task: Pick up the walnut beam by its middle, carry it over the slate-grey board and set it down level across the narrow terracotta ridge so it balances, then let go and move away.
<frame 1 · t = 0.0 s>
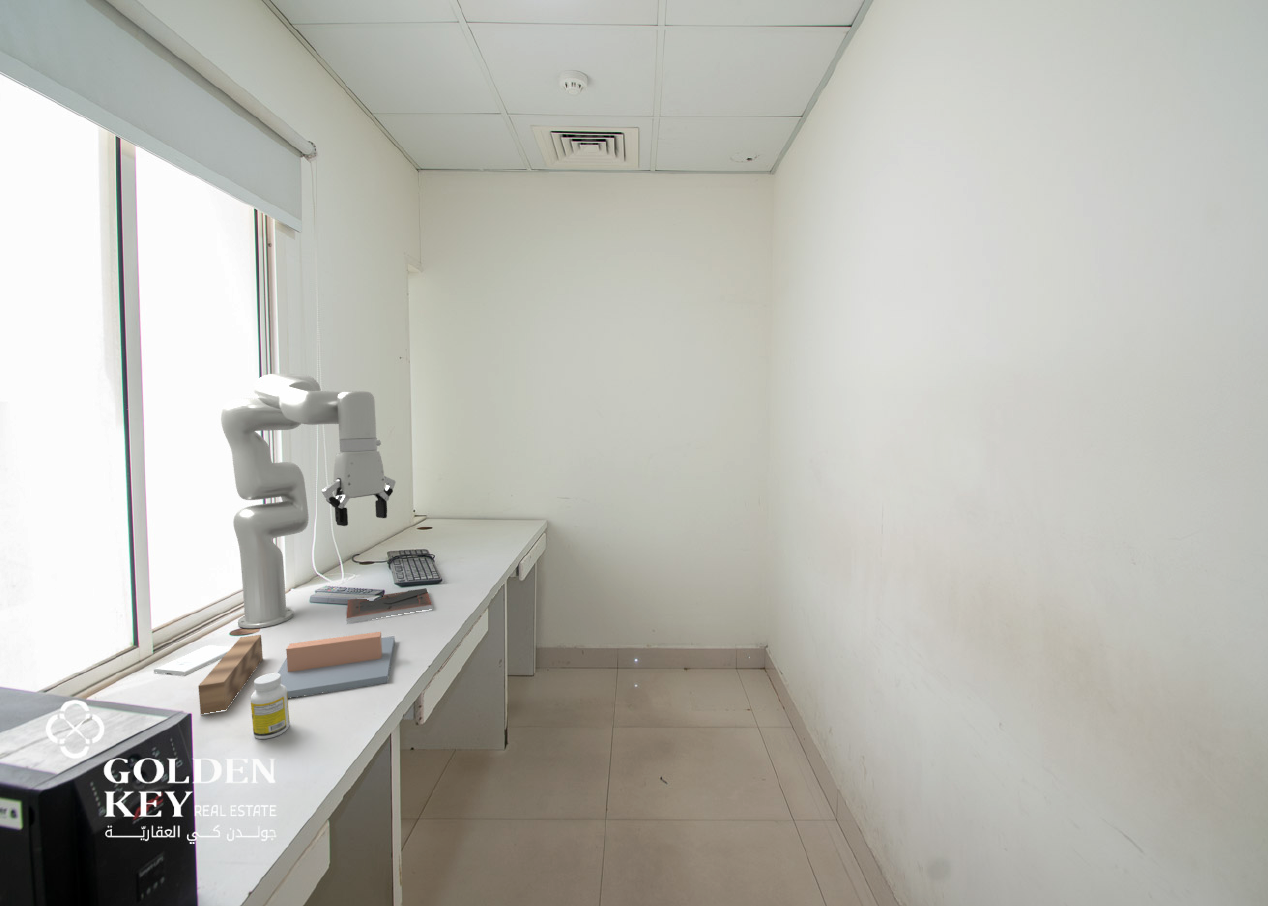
hand: (362, 521, 128), 31 cm above the table, tool pointing down, fingers open, 9 cm apart
picture frame: (389, 610, 162), on the table
supplement bottle: (271, 732, 100), on the table
ridge board: (337, 669, 124), on the table
walnut beam: (235, 685, 117), on the table
external hard drive: (196, 665, 128), on the table
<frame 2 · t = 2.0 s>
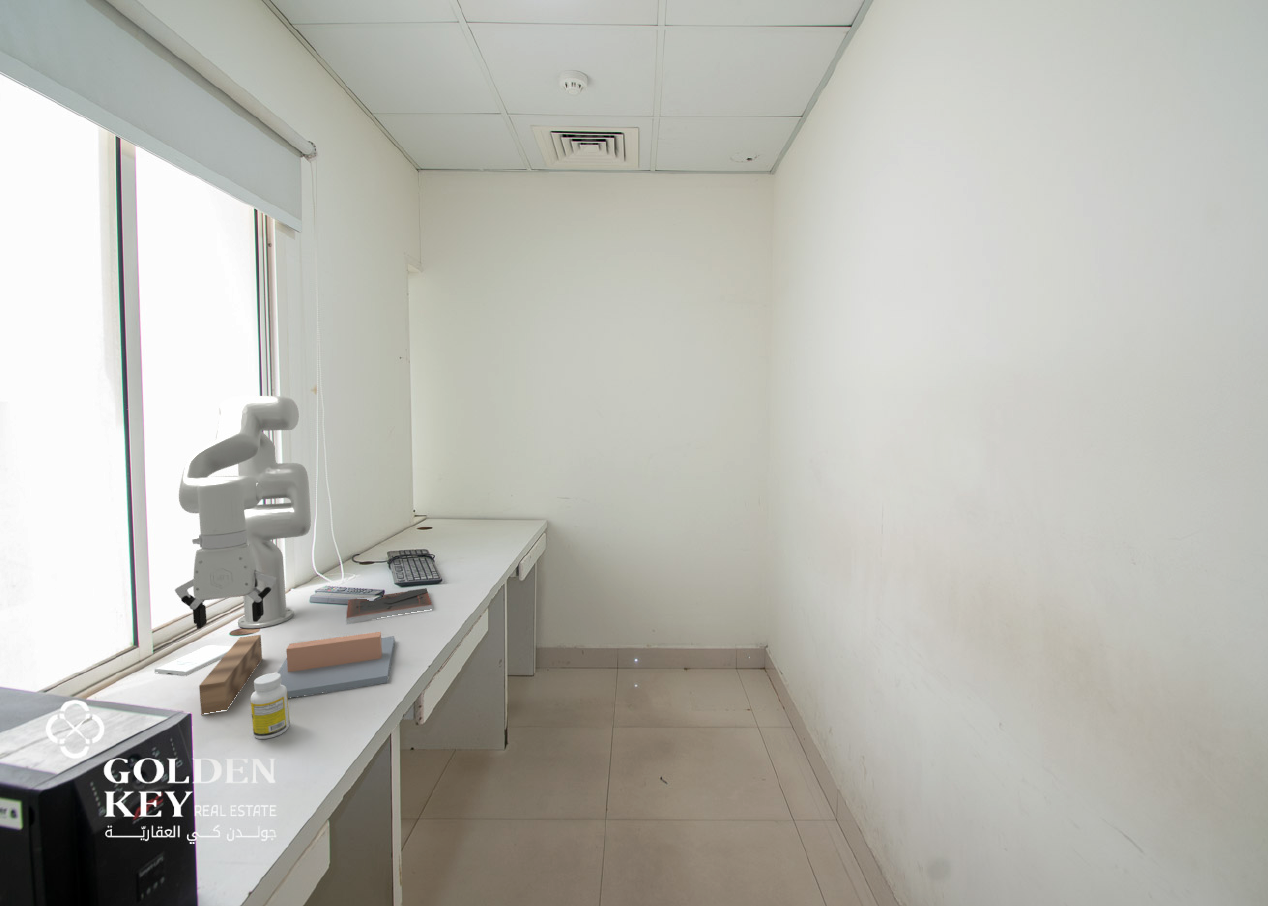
hand: (229, 623, 116), 13 cm above the table, tool pointing down, fingers open, 9 cm apart
nothing on the table moved.
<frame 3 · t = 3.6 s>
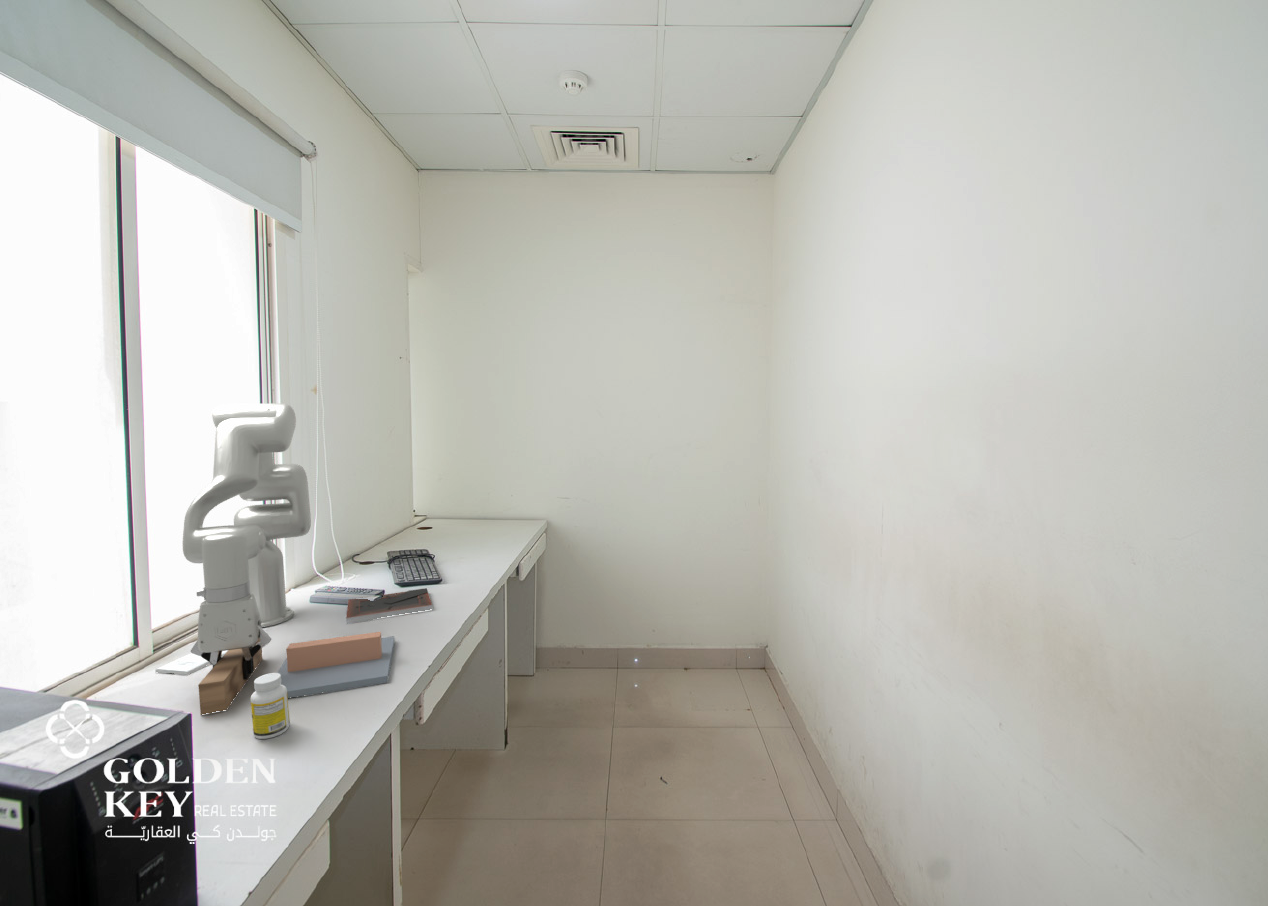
hand: (234, 677, 117), 1 cm above the table, tool pointing down, fingers closed on walnut beam, 4 cm apart
walnut beam: (234, 684, 117), on the table, touching gripper
everything else where it was.
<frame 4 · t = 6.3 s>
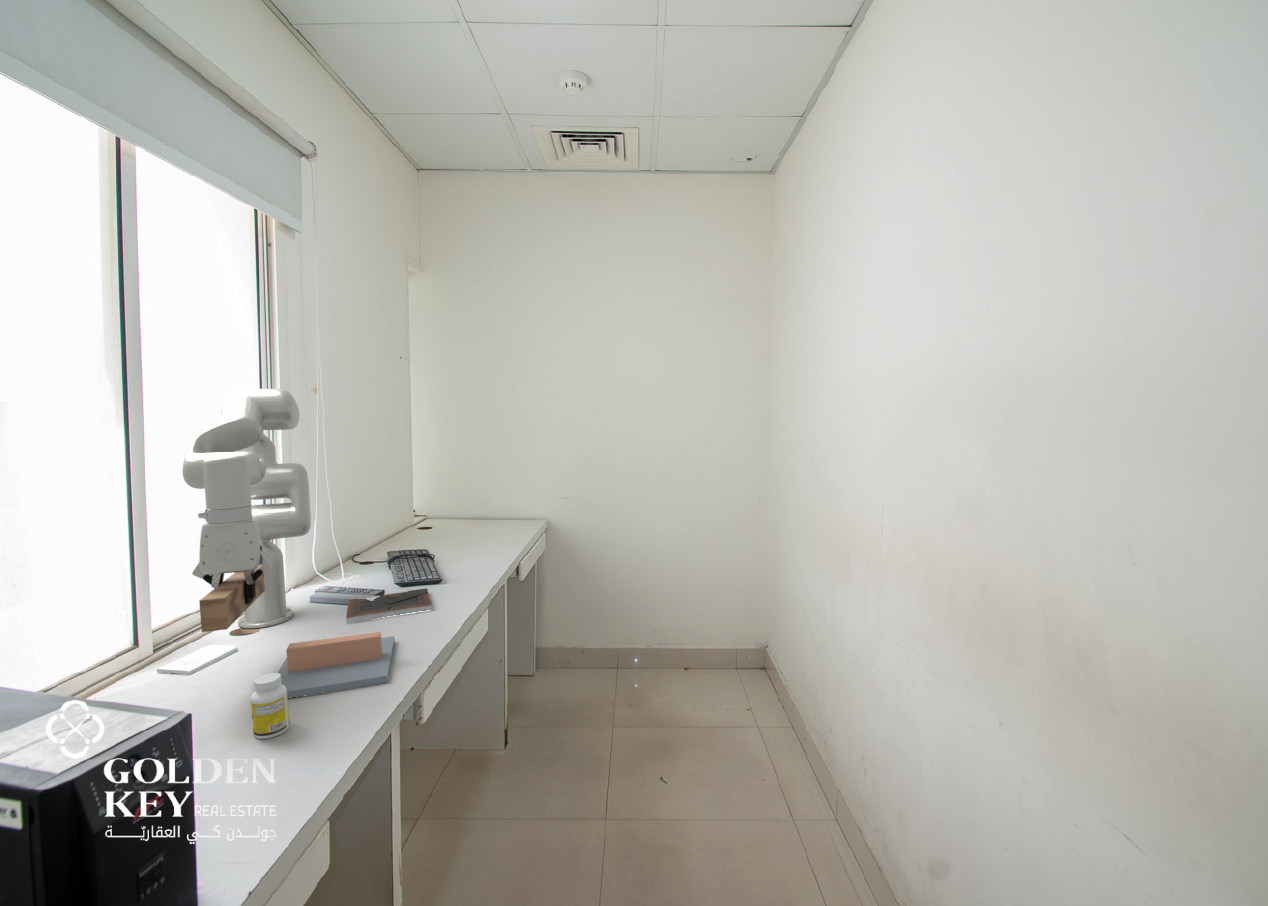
hand: (236, 602, 116), 17 cm above the table, tool pointing down, fingers closed on walnut beam, 4 cm apart
walnut beam: (236, 609, 117), point 16 cm above the table, touching gripper
everything else where it was.
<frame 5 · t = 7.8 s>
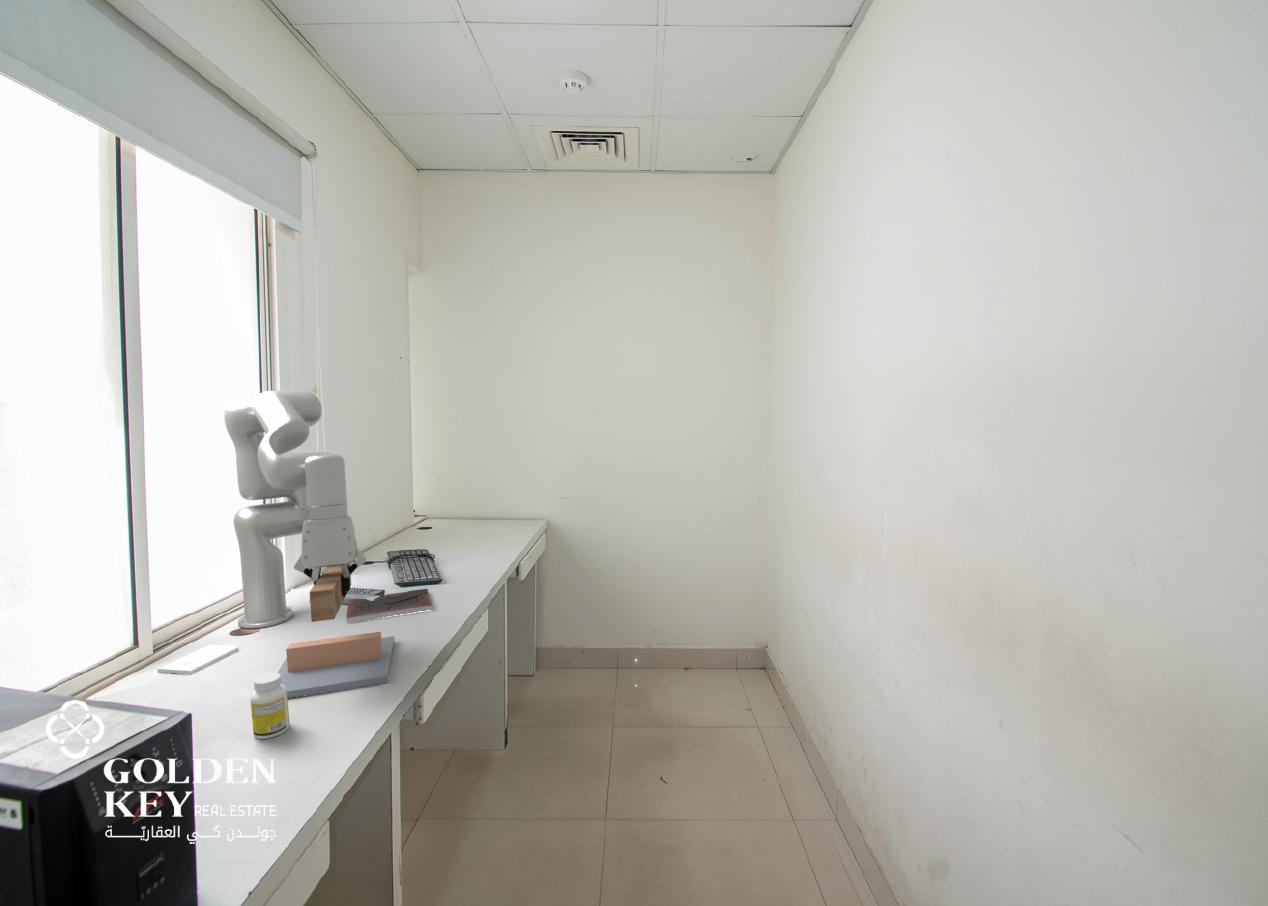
hand: (332, 595, 122), 17 cm above the table, tool pointing down, fingers closed on walnut beam, 4 cm apart
walnut beam: (333, 601, 122), point 15 cm above the table, touching gripper
everything else where it was.
when the fingers open (9 cm above the table, at t = 9.2 s): walnut beam stays where it is, resting on ridge board.
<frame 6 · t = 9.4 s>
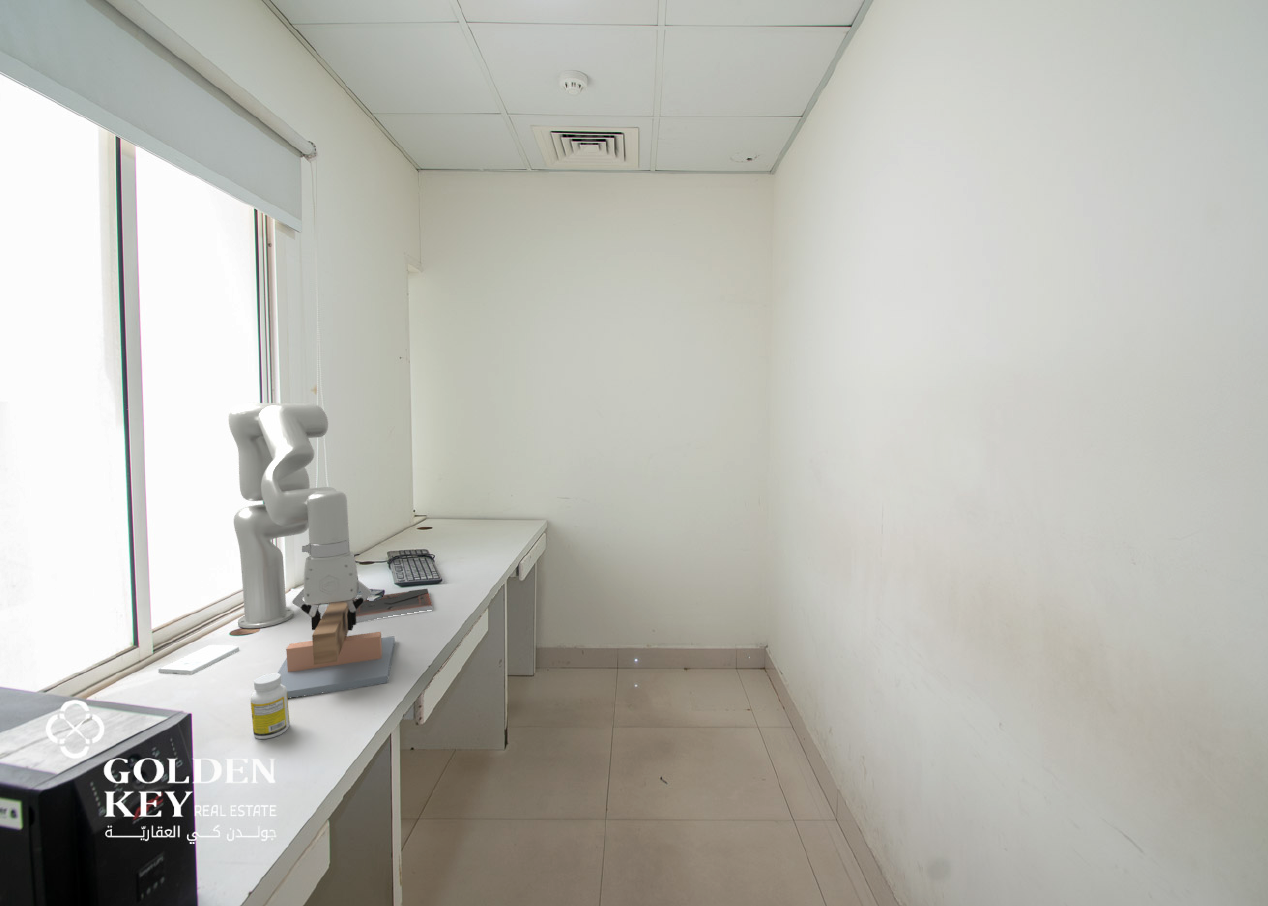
hand: (334, 629, 123), 9 cm above the table, tool pointing down, fingers open, 5 cm apart
walnut beam: (335, 640, 123), point 7 cm above the table, touching ridge board
everything else where it was.
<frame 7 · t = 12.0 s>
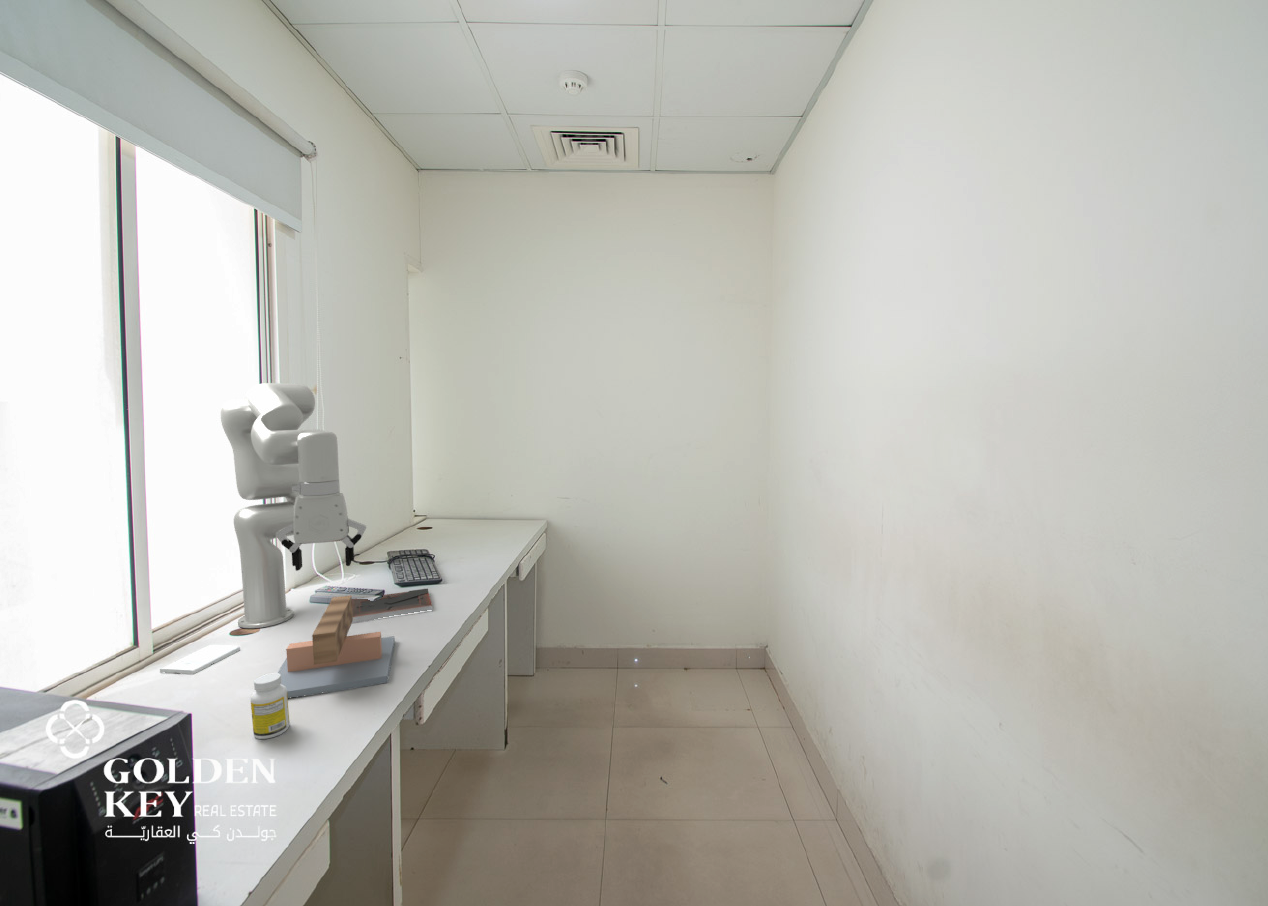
hand: (324, 566, 123), 23 cm above the table, tool pointing down, fingers open, 9 cm apart
nothing on the table moved.
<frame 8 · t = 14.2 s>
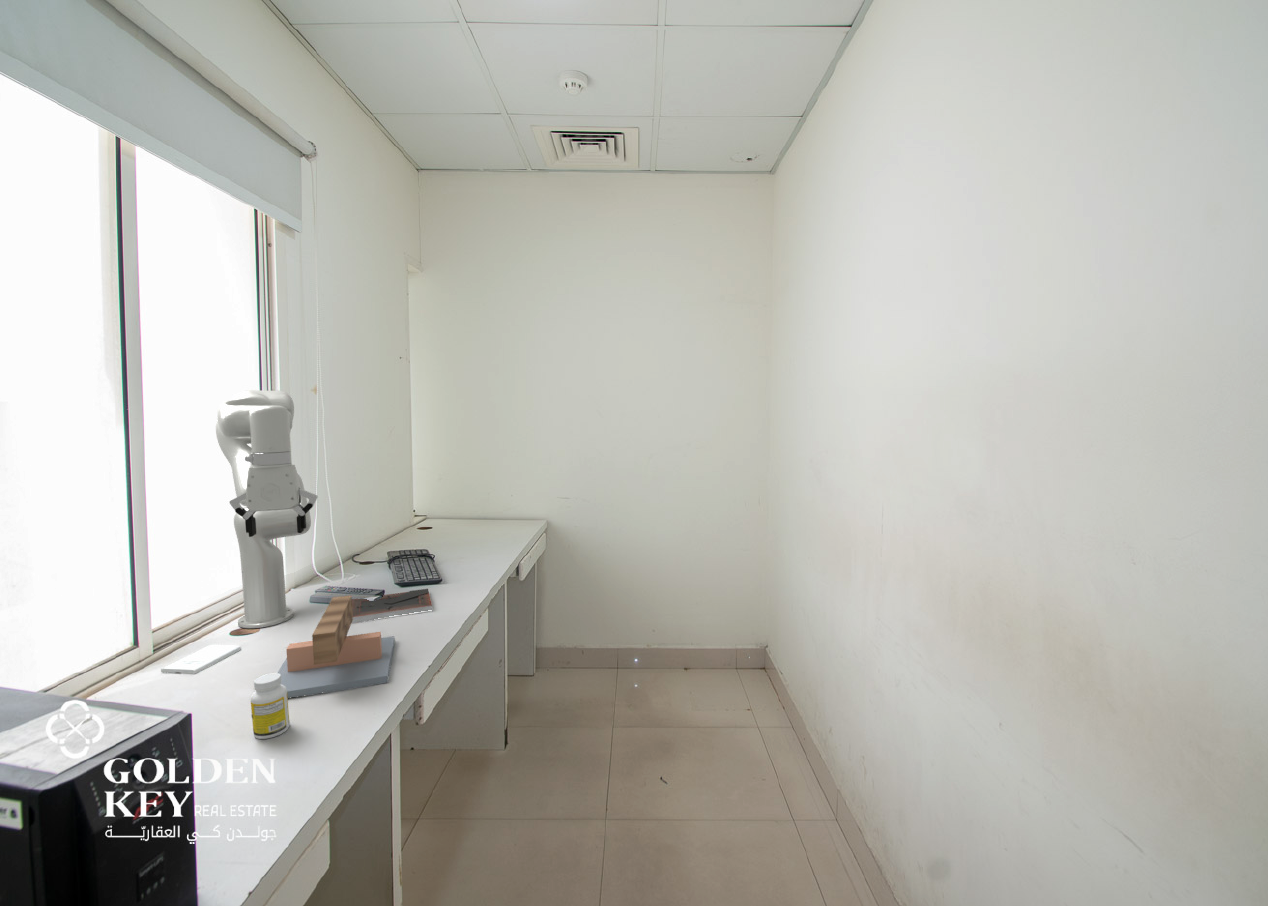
hand: (277, 533, 130), 28 cm above the table, tool pointing down, fingers open, 9 cm apart
at the end: walnut beam 0.0 cm off-centre on the ridge board, point 6.5 cm above the ridge board's base; walnut beam tilted 0°; the gripper is holding nothing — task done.
